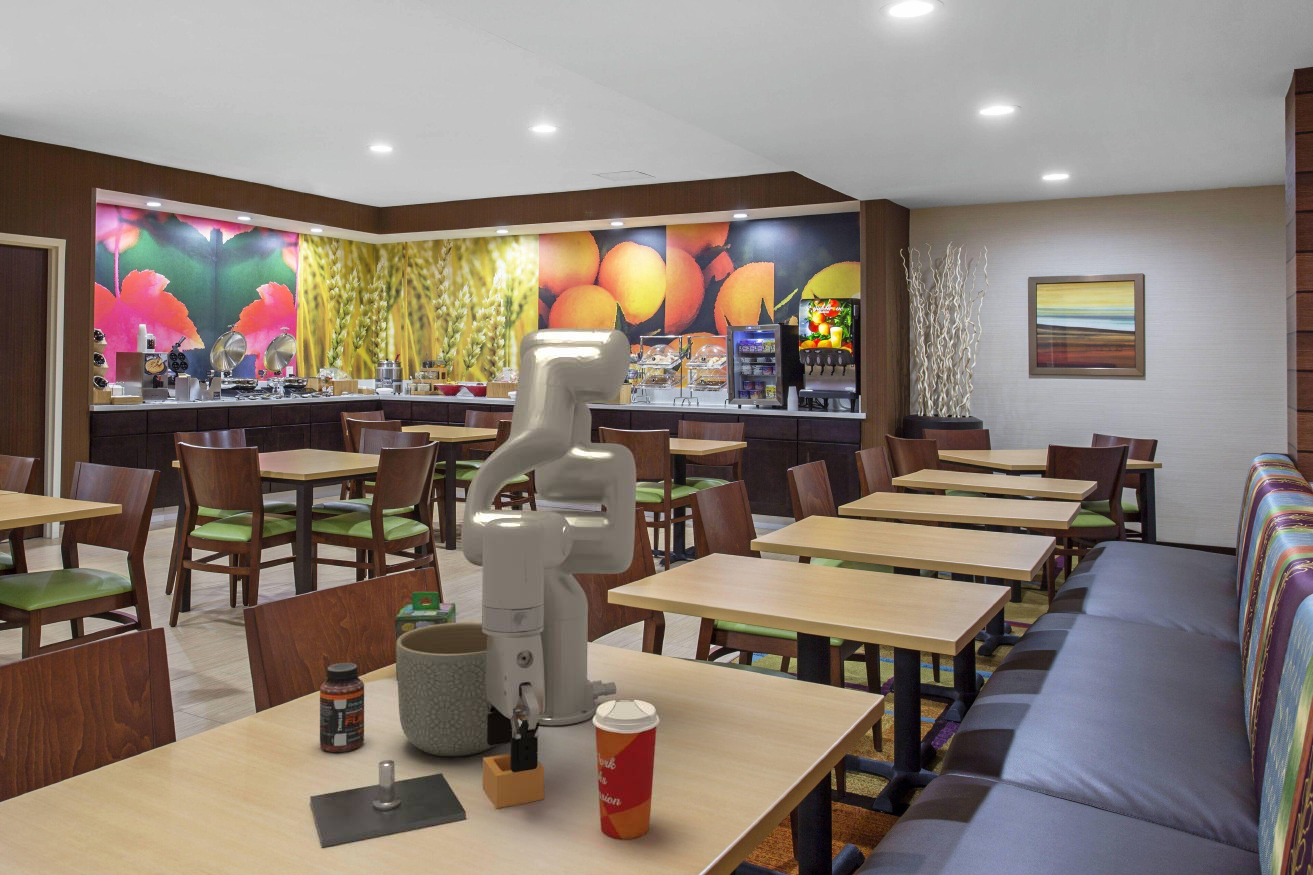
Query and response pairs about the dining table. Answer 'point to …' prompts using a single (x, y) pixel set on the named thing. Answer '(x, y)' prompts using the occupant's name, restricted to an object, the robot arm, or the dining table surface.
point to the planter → (444, 688)
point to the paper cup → (625, 766)
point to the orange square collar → (511, 782)
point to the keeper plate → (385, 807)
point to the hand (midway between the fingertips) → (511, 756)
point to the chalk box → (423, 614)
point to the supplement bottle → (341, 709)
